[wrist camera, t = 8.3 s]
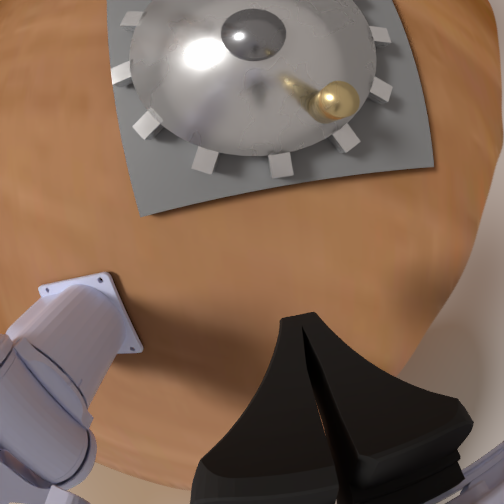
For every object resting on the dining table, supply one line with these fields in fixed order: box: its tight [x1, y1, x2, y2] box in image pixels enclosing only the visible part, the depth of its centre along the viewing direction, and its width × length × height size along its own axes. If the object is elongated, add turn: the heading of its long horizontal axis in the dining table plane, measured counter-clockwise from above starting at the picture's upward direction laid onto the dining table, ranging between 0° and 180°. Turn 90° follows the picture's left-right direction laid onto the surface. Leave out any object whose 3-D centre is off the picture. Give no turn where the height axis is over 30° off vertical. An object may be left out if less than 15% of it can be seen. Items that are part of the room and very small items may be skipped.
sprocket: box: [111, 0, 393, 179], centre depth 11 cm, size 18×18×4 cm
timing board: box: [107, 0, 434, 217], centre depth 13 cm, size 21×21×1 cm
